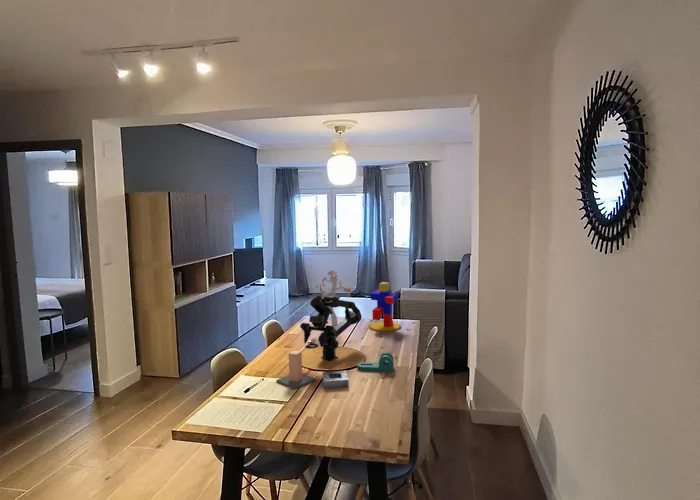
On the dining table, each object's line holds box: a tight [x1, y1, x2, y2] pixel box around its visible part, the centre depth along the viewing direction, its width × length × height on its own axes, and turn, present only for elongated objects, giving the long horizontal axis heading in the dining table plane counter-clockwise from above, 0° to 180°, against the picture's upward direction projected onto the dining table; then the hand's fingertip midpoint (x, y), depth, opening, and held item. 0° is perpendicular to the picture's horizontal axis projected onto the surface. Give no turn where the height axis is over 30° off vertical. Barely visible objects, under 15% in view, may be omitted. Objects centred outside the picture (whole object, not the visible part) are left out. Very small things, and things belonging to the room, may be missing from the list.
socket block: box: [321, 370, 350, 390], centre depth 200 cm, size 11×11×4 cm
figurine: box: [368, 281, 402, 333], centre depth 287 cm, size 22×22×30 cm
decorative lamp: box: [315, 269, 353, 327], centre depth 279 cm, size 28×24×40 cm
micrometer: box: [305, 337, 319, 349], centre depth 257 cm, size 15×7×2 cm, turn 164°
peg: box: [287, 350, 303, 382], centre depth 202 cm, size 4×4×13 cm
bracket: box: [356, 351, 395, 373], centre depth 216 cm, size 18×7×8 cm, turn 81°
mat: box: [275, 373, 317, 390], centre depth 203 cm, size 13×13×1 cm
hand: (312, 344), depth 217 cm, fingers open, 9 cm apart
